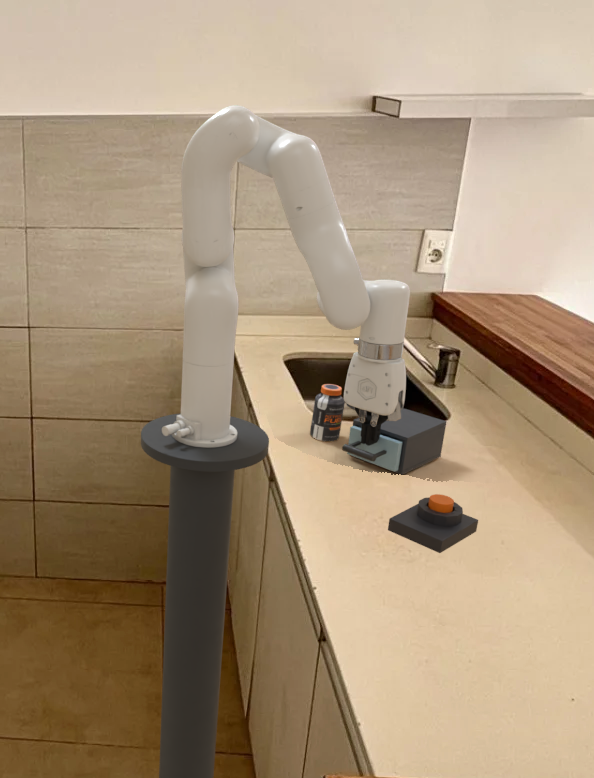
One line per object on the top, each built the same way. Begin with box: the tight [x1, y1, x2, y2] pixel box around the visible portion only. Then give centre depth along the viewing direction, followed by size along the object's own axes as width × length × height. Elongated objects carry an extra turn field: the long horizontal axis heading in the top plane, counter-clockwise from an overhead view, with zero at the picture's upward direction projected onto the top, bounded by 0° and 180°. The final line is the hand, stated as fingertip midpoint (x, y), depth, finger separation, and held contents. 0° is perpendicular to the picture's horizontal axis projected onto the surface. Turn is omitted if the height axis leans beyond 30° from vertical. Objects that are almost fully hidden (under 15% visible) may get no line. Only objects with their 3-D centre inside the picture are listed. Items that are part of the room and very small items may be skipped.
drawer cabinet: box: [352, 407, 448, 476], centre depth 151 cm, size 14×12×8 cm
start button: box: [428, 493, 455, 513], centre depth 124 cm, size 4×4×2 cm
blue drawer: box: [341, 425, 403, 473], centre depth 148 cm, size 17×10×6 cm, turn 127°
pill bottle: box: [309, 383, 346, 442], centre depth 160 cm, size 6×6×11 cm
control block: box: [387, 496, 479, 554], centre depth 124 cm, size 11×9×4 cm
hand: (369, 442), depth 145 cm, fingers closed
